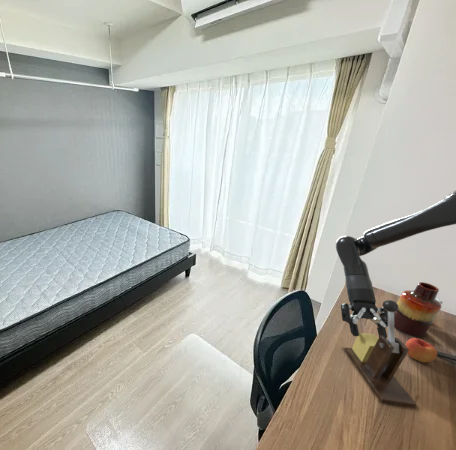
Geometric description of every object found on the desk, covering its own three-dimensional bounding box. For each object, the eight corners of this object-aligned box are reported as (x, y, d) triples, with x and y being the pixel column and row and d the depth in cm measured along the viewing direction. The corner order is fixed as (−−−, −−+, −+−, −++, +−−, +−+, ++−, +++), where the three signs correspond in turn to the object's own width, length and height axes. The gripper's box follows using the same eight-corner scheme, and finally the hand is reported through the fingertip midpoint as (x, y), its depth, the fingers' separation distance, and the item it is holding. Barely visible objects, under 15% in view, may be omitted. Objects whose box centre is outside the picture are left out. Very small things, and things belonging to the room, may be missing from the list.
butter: (366, 350, 86) (374, 334, 83) (377, 364, 81) (386, 347, 78) (351, 348, 87) (359, 332, 84) (361, 362, 82) (370, 345, 79)
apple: (432, 371, 81) (444, 354, 78) (403, 359, 85) (413, 342, 82) (427, 356, 87) (438, 340, 84) (400, 345, 91) (409, 329, 88)
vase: (427, 342, 93) (454, 299, 85) (389, 328, 98) (411, 287, 91) (421, 326, 101) (445, 285, 93) (386, 314, 106) (406, 274, 99)
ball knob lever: (379, 298, 78) (389, 300, 74) (391, 299, 77) (401, 301, 74) (380, 348, 76) (390, 352, 72) (393, 350, 75) (403, 354, 72)
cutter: (344, 350, 88) (358, 318, 82) (370, 354, 87) (387, 322, 81) (380, 402, 71) (402, 367, 65) (414, 407, 70) (439, 372, 64)
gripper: (345, 285, 86) (354, 335, 79) (389, 289, 84) (402, 341, 78) (332, 288, 93) (340, 334, 86) (372, 292, 91) (383, 340, 85)
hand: (369, 337), depth 82 cm, fingers open, 8 cm apart
